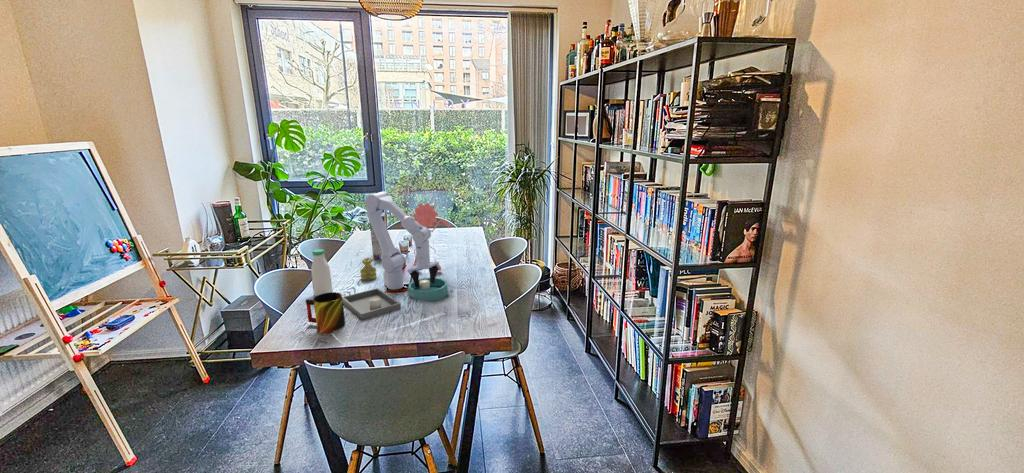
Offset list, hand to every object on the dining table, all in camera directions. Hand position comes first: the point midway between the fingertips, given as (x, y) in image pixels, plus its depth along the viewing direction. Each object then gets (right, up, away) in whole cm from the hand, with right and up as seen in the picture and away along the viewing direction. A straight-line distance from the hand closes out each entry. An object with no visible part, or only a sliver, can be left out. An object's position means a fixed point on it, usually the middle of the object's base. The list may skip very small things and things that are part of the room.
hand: (424, 284), depth 194 cm
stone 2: (0, -2, 0) cm, 2 cm away
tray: (-19, -7, -15) cm, 25 cm away
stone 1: (-16, -8, -19) cm, 26 cm away
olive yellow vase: (-31, +1, +19) cm, 36 cm away
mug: (-30, -13, -33) cm, 46 cm away
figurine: (-4, +4, +29) cm, 30 cm away
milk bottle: (-45, -4, 0) cm, 45 cm away
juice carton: (-35, +10, +54) cm, 66 cm away
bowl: (+2, -4, -1) cm, 5 cm away
